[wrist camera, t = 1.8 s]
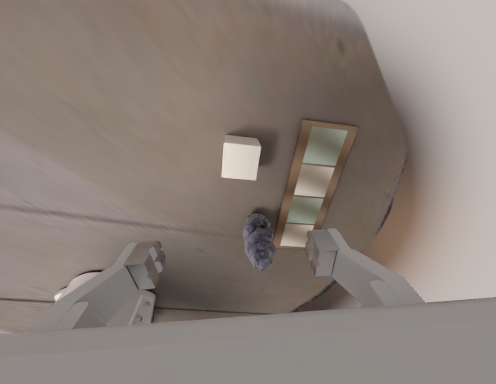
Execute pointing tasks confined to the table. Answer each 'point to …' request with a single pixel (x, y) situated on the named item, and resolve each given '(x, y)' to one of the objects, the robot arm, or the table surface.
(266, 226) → the seashell
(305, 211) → the brown rectangular frame
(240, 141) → the cream white cube
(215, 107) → the table surface
